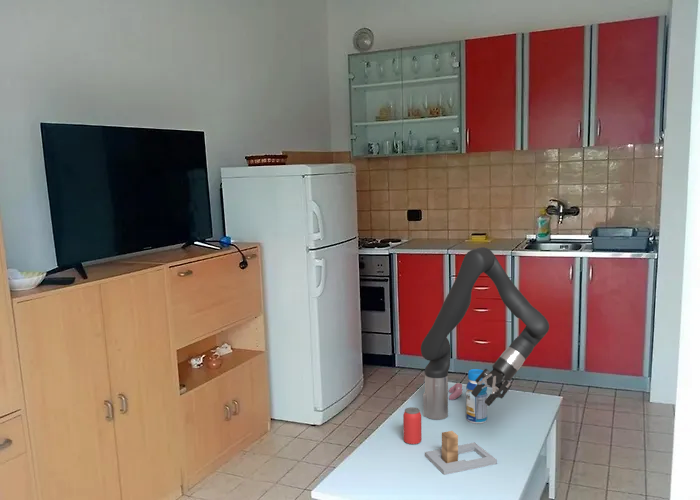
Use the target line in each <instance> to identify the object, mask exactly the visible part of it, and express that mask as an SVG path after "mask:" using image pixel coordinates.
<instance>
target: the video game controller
mask: <svg viewBox="0 0 700 500" xmlns="http://www.w3.org/2000/svg"><path fill="white" fill-rule="evenodd" d="M448 393H449V394H450V395H448V400H451V401H453V400H456V399H458V398H459V397H460V396H461V395H463V384H462V383H460V382H456V383H455V384H454V385H453V386H451V387H450V388H448Z"/></svg>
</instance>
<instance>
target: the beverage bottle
mask: <svg viewBox="0 0 700 500" xmlns="http://www.w3.org/2000/svg"><path fill="white" fill-rule="evenodd" d="M483 371H484V369H479V368H474V369H473V368H472V369H469V370H468V372H467V379H468V382H467V384H466V392H465V398H466V399H465V401H466V402H465V405H466V407H465V408H466V411H465V413H466V415H465V416H466V417H465V418H466V421H468V422H469V423H472V424H477V425H478V424H483V423H486V422H487V420H488V405H487V404H486V403H485V400H486V399H487V398H488V396H489V394H488V387H485V388H483V389H482V390H481V391H480V393H479V394H478V395H477V396H476V397H474V396H473V395H472V394H471V392H472V391H473V390H474V388H475V387H476V386H477V382H476V381H475V380H476V379H477V378H478V377H479V375H480V374H481V373H482V372H483ZM481 380H482V378H481V379H480V380H479V381H481ZM483 384H484V383H483ZM483 384H482V385H483Z"/></svg>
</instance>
